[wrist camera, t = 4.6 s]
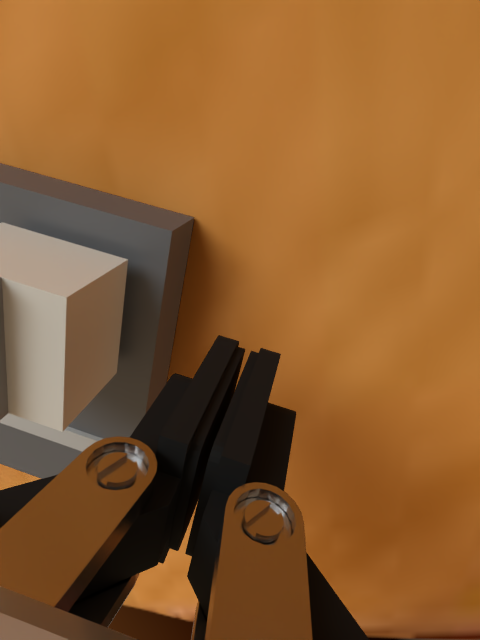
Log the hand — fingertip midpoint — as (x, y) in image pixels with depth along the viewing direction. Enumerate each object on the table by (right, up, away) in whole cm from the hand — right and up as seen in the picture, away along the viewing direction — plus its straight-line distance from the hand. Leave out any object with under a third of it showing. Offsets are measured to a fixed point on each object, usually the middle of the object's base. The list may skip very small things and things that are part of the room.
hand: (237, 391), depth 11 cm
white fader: (-5, +2, +2) cm, 6 cm away
